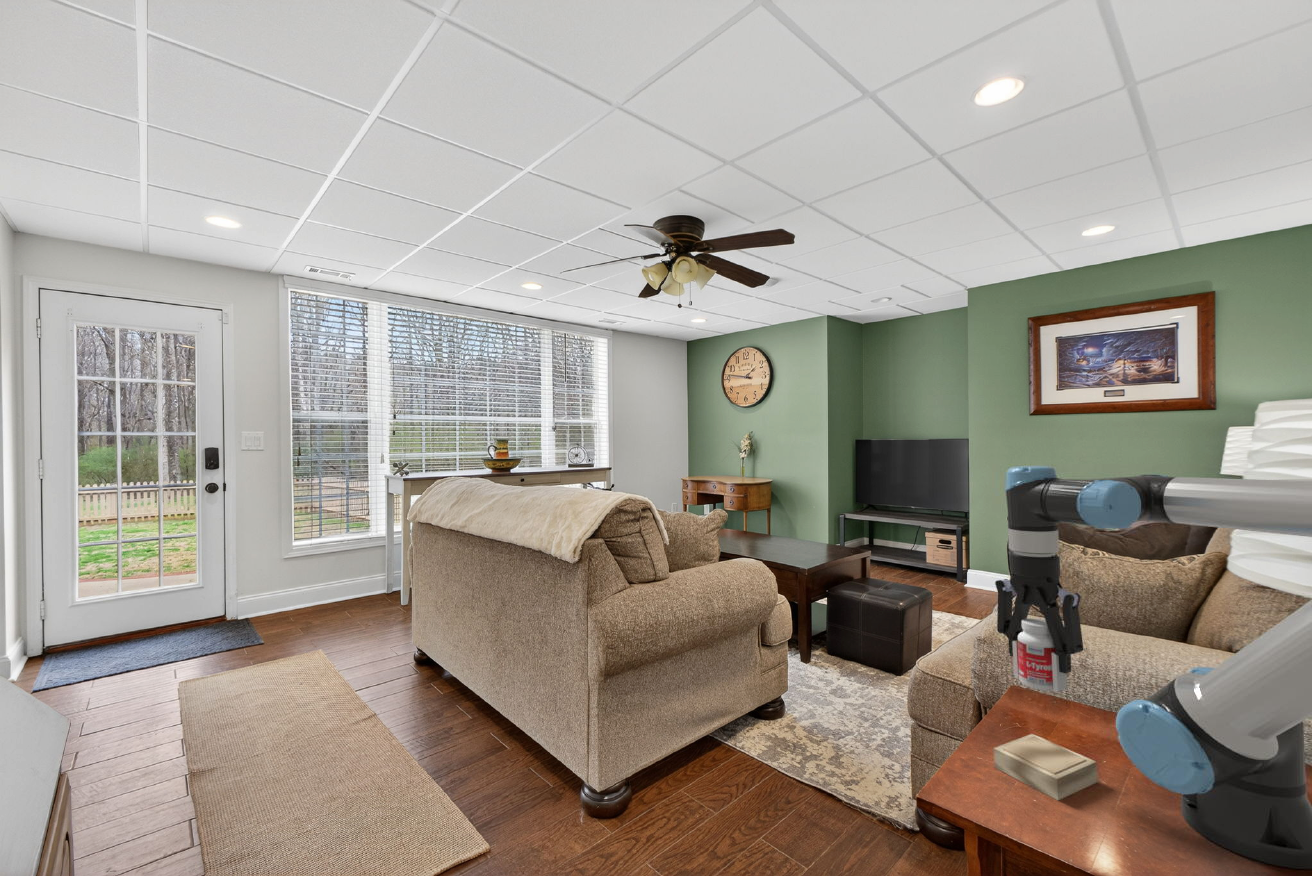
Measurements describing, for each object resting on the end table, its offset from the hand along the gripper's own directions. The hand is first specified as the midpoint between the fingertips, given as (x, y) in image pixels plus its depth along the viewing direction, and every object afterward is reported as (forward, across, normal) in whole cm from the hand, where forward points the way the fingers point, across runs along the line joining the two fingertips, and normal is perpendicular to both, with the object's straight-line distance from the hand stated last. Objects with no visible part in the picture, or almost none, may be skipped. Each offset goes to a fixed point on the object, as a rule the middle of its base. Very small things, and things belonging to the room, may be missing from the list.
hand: (1040, 682), depth 102 cm
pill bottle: (+1, 0, 0) cm, 1 cm away
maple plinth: (+16, 0, 0) cm, 16 cm away
